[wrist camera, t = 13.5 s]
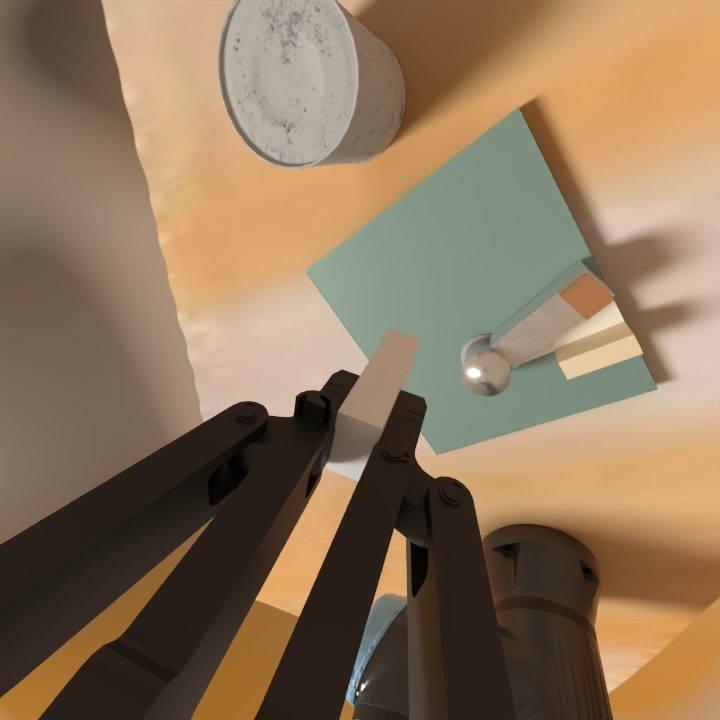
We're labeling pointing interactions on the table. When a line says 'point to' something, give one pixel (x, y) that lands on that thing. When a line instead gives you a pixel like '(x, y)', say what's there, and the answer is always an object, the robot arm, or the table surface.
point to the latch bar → (534, 329)
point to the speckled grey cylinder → (308, 83)
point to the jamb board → (480, 291)
